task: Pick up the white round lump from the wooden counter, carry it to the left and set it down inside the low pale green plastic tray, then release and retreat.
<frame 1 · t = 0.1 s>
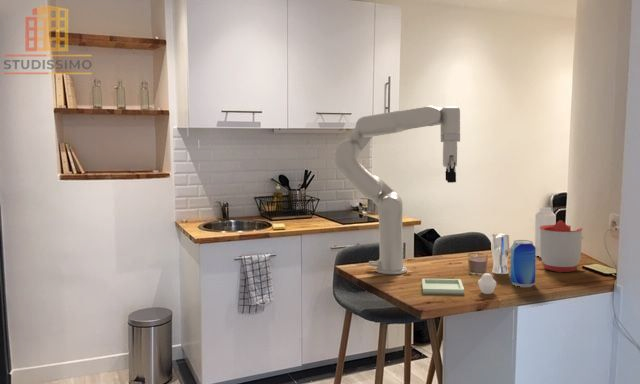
hand: (450, 181, 213), 37 cm above the worktop, tool pointing down, fingers open, 9 cm apart
milk: (545, 257, 239), on the worktop
citrus juicer: (561, 269, 216), on the worktop
tray: (442, 288, 193), on the worktop
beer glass: (500, 273, 213), on the worktop
beer can: (522, 285, 195), on the worktop
white round lump: (487, 293, 186), on the worktop
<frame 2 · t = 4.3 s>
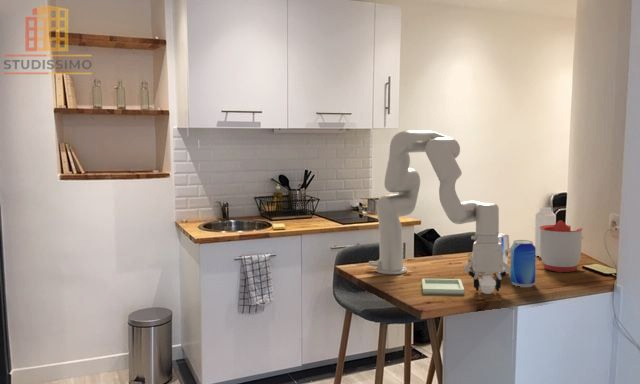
hand: (487, 289, 186), 1 cm above the worktop, tool pointing down, fingers closed on white round lump, 6 cm apart
white round lump: (487, 293, 186), on the worktop, touching gripper
everything else where it was.
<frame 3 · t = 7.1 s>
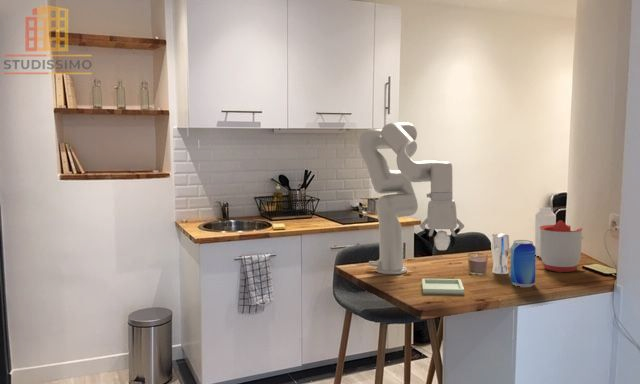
hand: (441, 246, 191), 15 cm above the worktop, tool pointing down, fingers closed on white round lump, 6 cm apart
white round lump: (442, 249, 191), point 14 cm above the worktop, touching gripper
everything else where it was.
when the fingers open (3 cm above the worktop, at t = 10.1 s): white round lump drops 1 cm, resting on tray.
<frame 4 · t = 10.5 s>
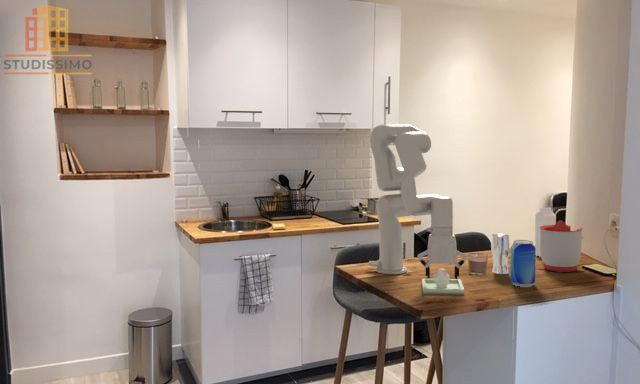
hand: (442, 278, 192), 4 cm above the worktop, tool pointing down, fingers open, 9 cm apart
white round lump: (441, 287, 193), resting on tray
everything else where it was.
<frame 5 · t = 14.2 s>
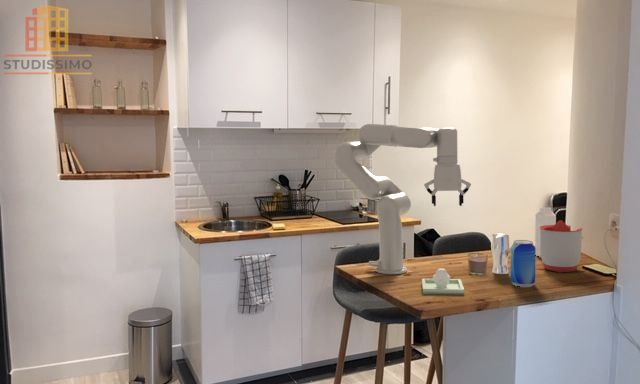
hand: (447, 205, 204), 28 cm above the worktop, tool pointing down, fingers open, 9 cm apart
nothing on the worktop moved.
at the end: white round lump inside the target area on the tray (0.2 cm from its centre), point 0.4 cm above the tray's base; white round lump tilted 0°; the gripper is holding nothing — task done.
